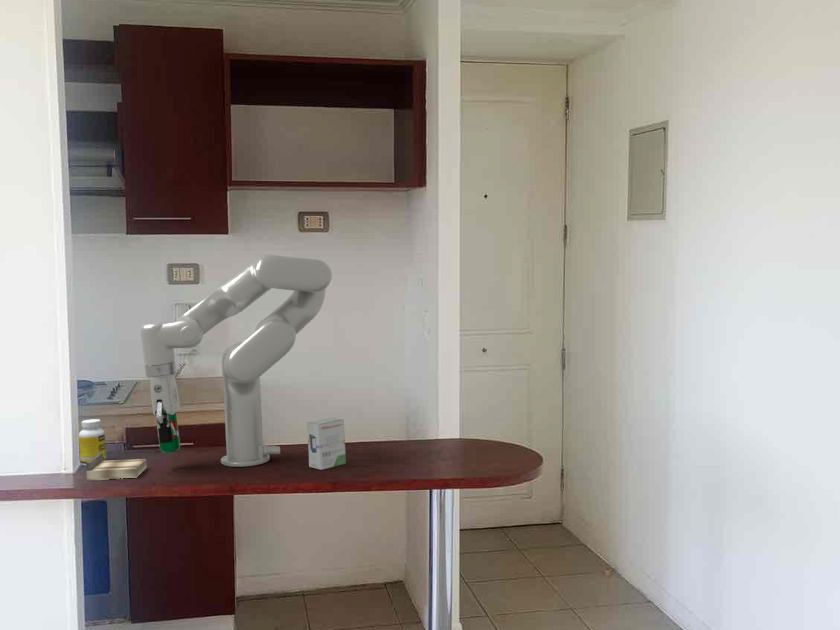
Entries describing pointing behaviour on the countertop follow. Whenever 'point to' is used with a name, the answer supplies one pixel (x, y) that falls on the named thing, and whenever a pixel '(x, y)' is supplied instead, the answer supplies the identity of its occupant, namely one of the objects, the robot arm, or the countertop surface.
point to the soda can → (176, 442)
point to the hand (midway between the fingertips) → (169, 439)
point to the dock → (113, 468)
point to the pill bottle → (91, 440)
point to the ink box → (326, 443)
